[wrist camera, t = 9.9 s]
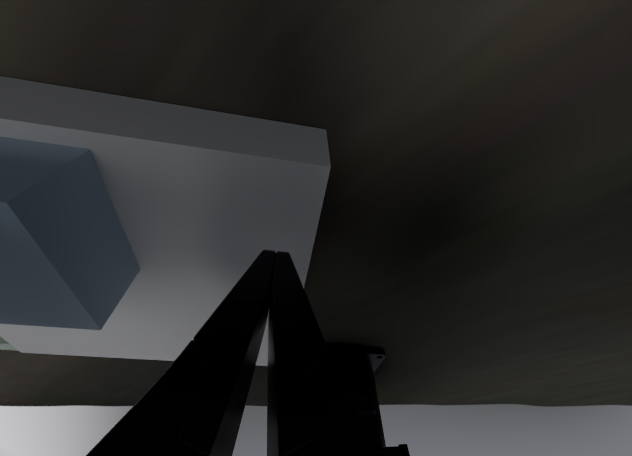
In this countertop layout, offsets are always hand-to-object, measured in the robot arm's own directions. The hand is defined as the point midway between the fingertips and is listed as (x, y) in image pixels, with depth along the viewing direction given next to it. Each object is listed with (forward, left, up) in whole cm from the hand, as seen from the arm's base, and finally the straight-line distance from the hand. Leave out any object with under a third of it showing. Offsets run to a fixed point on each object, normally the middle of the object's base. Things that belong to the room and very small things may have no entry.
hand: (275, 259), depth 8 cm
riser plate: (-4, +6, -4) cm, 8 cm away
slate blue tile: (0, +8, -1) cm, 8 cm away
